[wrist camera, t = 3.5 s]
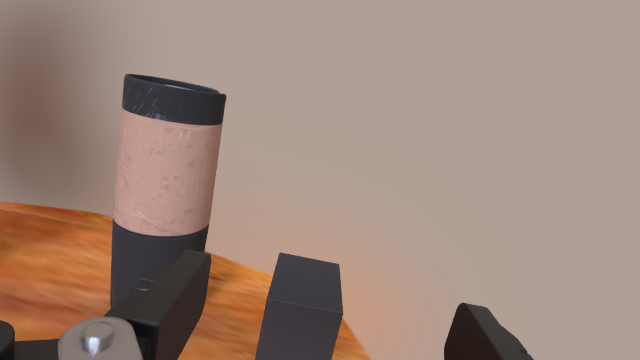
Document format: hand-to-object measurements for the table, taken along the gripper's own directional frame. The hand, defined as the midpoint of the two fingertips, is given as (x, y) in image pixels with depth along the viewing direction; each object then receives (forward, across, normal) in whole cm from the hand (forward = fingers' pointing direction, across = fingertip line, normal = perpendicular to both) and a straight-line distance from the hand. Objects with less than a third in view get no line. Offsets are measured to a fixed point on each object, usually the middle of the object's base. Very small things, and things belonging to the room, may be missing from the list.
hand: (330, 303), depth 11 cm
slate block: (+11, 0, +16) cm, 19 cm away
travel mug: (+19, +13, +16) cm, 28 cm away
